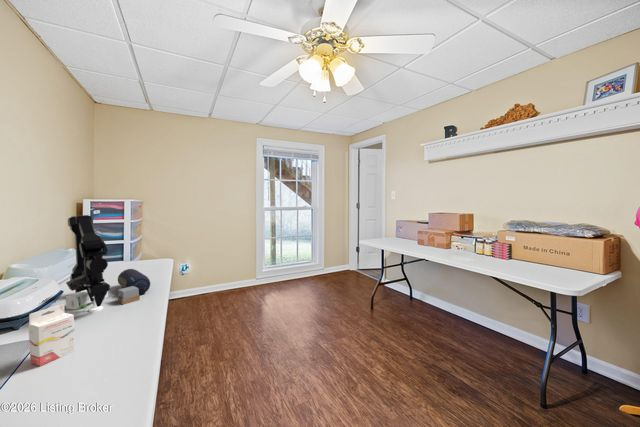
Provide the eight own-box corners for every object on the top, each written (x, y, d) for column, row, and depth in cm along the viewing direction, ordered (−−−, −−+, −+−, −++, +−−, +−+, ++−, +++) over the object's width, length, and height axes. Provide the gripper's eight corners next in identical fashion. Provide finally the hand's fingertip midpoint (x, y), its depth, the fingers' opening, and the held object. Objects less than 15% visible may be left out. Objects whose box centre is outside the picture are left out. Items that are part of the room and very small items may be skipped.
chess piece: (94, 307, 114) (93, 285, 113) (106, 307, 114) (105, 284, 114) (85, 312, 109) (83, 289, 108) (97, 311, 109) (96, 288, 109)
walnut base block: (117, 302, 120) (117, 296, 120) (134, 297, 126) (134, 291, 126) (122, 305, 117) (122, 299, 116) (139, 300, 122) (139, 294, 122)
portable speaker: (116, 287, 139) (115, 269, 139) (138, 283, 147) (137, 265, 146) (129, 299, 123) (127, 278, 122) (152, 293, 130) (152, 274, 130)
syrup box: (75, 297, 111) (108, 285, 125) (64, 296, 112) (98, 285, 126) (76, 310, 111) (109, 297, 125) (65, 309, 112) (99, 296, 126)
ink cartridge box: (40, 367, 73) (36, 316, 72) (30, 363, 75) (26, 314, 74) (76, 350, 81) (73, 304, 80) (67, 347, 83) (64, 302, 82)
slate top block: (118, 295, 120) (118, 289, 120) (133, 291, 125) (133, 285, 125) (123, 298, 117) (123, 292, 117) (138, 294, 122) (138, 288, 122)
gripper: (62, 269, 110) (65, 304, 111) (72, 276, 99) (75, 316, 99) (96, 263, 119) (98, 296, 119) (109, 270, 107) (111, 306, 108)
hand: (95, 303), depth 111 cm, fingers open, 9 cm apart
